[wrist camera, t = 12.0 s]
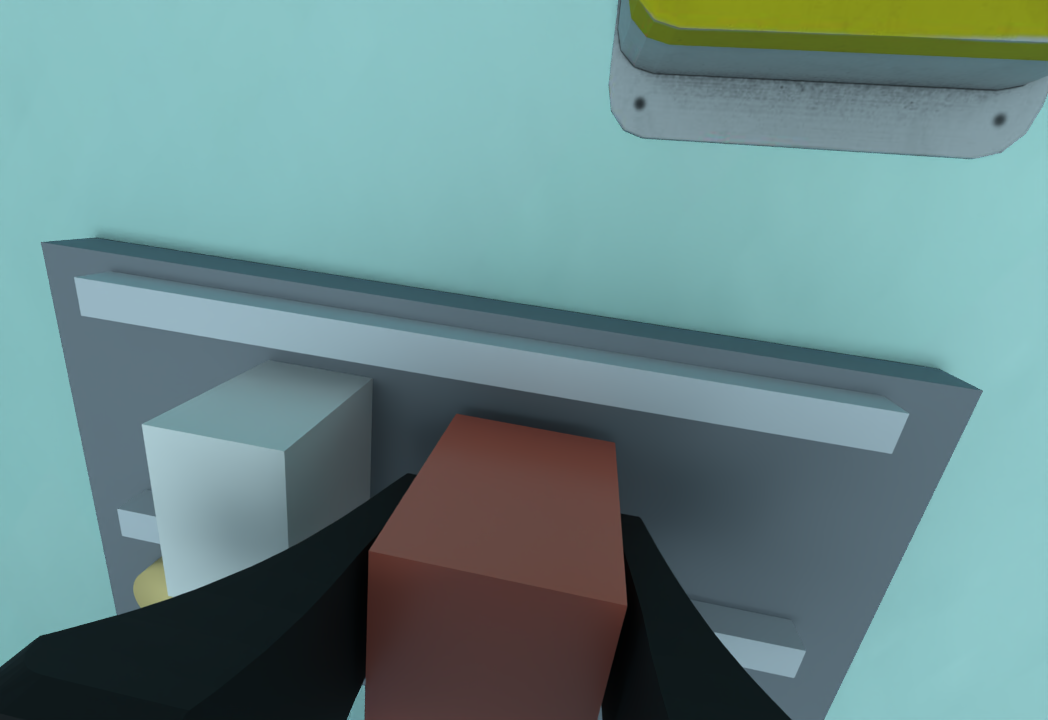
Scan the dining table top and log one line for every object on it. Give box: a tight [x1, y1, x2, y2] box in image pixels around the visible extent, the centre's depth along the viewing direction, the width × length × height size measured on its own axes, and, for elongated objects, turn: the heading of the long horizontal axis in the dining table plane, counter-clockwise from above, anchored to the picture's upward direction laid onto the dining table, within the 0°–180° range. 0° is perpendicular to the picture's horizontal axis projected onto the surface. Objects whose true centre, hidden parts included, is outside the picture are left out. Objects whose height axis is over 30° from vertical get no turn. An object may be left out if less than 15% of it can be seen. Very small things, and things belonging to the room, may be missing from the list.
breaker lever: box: [142, 360, 373, 597], centre depth 12 cm, size 4×3×4 cm
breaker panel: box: [41, 238, 983, 720], centre depth 15 cm, size 14×24×2 cm, turn 83°
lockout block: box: [365, 414, 627, 720], centre depth 10 cm, size 4×4×5 cm
